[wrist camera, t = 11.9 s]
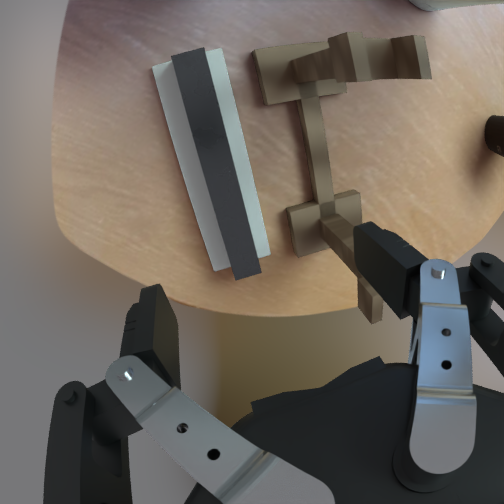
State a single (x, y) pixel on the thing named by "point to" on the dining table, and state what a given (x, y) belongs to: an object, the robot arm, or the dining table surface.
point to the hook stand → (307, 97)
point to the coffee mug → (495, 134)
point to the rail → (216, 160)
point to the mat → (191, 161)
